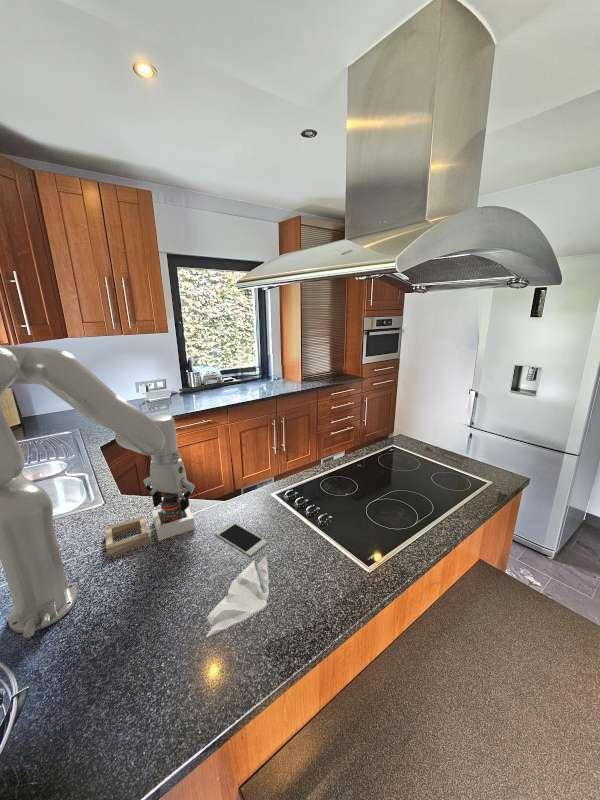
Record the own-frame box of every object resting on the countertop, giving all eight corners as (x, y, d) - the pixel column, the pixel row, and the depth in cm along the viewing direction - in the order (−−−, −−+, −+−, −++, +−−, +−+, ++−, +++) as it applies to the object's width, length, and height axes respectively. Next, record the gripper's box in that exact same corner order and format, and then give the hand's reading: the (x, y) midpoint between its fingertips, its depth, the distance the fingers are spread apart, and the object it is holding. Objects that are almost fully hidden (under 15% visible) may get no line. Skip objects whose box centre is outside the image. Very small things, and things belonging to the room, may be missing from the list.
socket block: (194, 528, 101) (193, 516, 100) (158, 541, 96) (156, 527, 95) (187, 511, 110) (185, 499, 109) (153, 521, 105) (151, 509, 104)
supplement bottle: (165, 534, 99) (161, 501, 96) (162, 524, 104) (157, 492, 101) (185, 527, 102) (182, 495, 99) (181, 517, 107) (177, 487, 104)
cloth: (222, 658, 64) (221, 649, 64) (180, 621, 72) (179, 612, 71) (299, 574, 85) (298, 567, 84) (259, 552, 92) (259, 545, 92)
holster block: (149, 543, 95) (148, 535, 94) (108, 557, 90) (106, 548, 89) (145, 524, 104) (144, 516, 103) (107, 535, 99) (105, 527, 98)
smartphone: (250, 558, 90) (250, 555, 90) (214, 535, 99) (214, 532, 99) (268, 544, 95) (267, 541, 95) (232, 524, 104) (232, 521, 104)
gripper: (197, 454, 98) (202, 503, 103) (148, 448, 102) (155, 496, 107) (183, 465, 91) (189, 517, 96) (131, 458, 95) (139, 509, 100)
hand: (171, 506), depth 101 cm, fingers open, 9 cm apart
